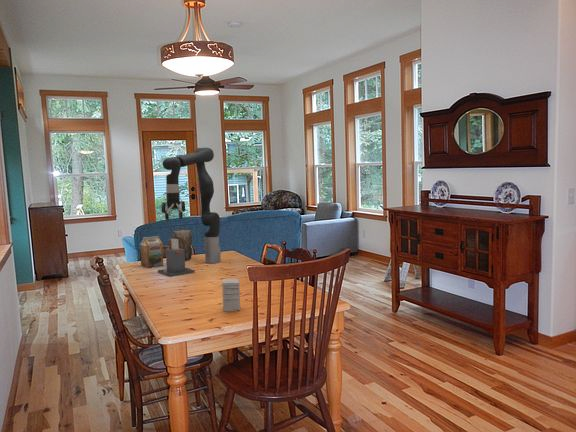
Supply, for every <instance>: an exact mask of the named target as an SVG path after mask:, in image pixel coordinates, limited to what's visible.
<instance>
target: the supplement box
mask: <svg viewBox="0 0 576 432" xmlns="http://www.w3.org/2000/svg"><path fill="white" fill-rule="evenodd" d="M221 286H222V289H221V290H222V311H223V312H238V311H237V310H240V311H241V296H240V294H241V293H240V292H241V291H240V279H239V278H226V279H222V284H221Z"/></svg>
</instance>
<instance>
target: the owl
mask: <svg viewBox="0 0 576 432" xmlns="http://www.w3.org/2000/svg"><path fill="white" fill-rule="evenodd" d="M172 233H173V234H172V237H171V239H172V238H176V239H178V244H179V248H180V249H184V250H185V262H189V260H191V259H192V254H193V249H192V242H193V237H192V230H191V229H181V230H173V231H172Z"/></svg>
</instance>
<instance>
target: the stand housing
mask: <svg viewBox="0 0 576 432" xmlns="http://www.w3.org/2000/svg"><path fill="white" fill-rule="evenodd" d="M165 257H166V258H165V260H166V263H165V264H166V268H163V269H158V270H157V273H158V274H160V275H163V276H166V277H168V278H171V277H177V276H178V277H179V276H182V275H183V276H184V275H188V274H194V273H195V271H196V270H195V269H191V268H189V267H186V261H185V250H184V249H180V248H179V250H172V249H169V248H168V249H167V248H166V249H165Z"/></svg>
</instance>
